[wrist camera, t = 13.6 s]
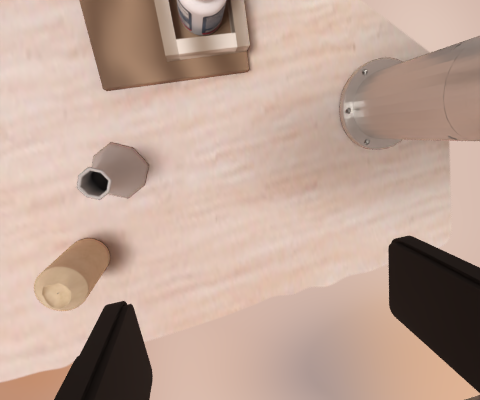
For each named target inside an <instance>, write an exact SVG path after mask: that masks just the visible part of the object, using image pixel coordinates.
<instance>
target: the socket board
mask: <svg viewBox="0 0 480 400" xmlns="http://www.w3.org/2000/svg"><path fill="white" fill-rule="evenodd" d="M80 4H81V8H82V11H83V15H84V19H85V23H86V27H87V30H88V34H89V38H90V42H91V45H92V49H93V53H94V57H95V60H96V64H97V68H98V72H99V75H100V79H101V83H102V87H103V89H104V90H106V91H111V90H118V89H126V88H133V87H140V86H148V85H155V84H163V83H170V82H177V81H185V80H192V79H200V78H207V77H215V76H222V75H229V74H237V73H244V72H247V71H248V70H249V65H248V58H247V49H248V48H249V46H250V42H249V35H248V27H247V19H246V12H245V4H244V0H227V1H226V5H225V9H224V14H223V18H222V21H221V24H220V26H219V27H218V29H217V30H216V31H215V32H213V33H212V34H209V35H205V36H201V35H196V34H194V33H192V32H190V31H189V30H188V29H187V28H186V27H185V26H184V25H183V23H182V22H181V20H180V17H179V13H178V7H177V0H80Z"/></svg>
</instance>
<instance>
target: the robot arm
mask: <svg viewBox="0 0 480 400" xmlns="http://www.w3.org/2000/svg"><path fill="white" fill-rule="evenodd" d="M345 110H346V112H345ZM340 118H341V123H342V126H343V128H344V130H345V132H346V134H347V135H348V137H349V138H350V139H351V140H352V141H353V142H354V143H356V144H357V145H359V146H361V147H364V148H367V149H385V148H389V147H392V146H394V145H396V144H397V143H399V142H401V141H402V140H403V139H404V140H450V141H480V36H478V37H475V38H472V39H469V40H467V41H463V42H460V43H458V44H455V45H452V46H449V47H446V48H443V49H440V50H437V51H434V52H431V53H429V54H426V55H423V56H420V57H417V58H414V59H411V60H408V61H405V62H402V61H400V60H398V59H394V58H380V59H376V60H373V61H370V62H368V63H366V64H364V65H363V66H361V67H360V68H359V69H358V70H356V71H355V72H354V73H353V74H352V76H351V77H350V78H349V80H348V81H347V83H346V85H345V87H344V89H343V92H342V96H341V100H340ZM364 141H365V142H364ZM389 306H390V310H391V312H392V314H393V315H394V316H395V317H396V318H397V319H398V320H399V321H400V322H401V323H403V324H404V325H405V326H406V327H407V328H408V329H409V330H410V331H412V332H413V333H414V334H415V335H416V336H417V337H418V338H419V339H420V340H421V341H423V342H424V343H425V344H426V345H427V346H428V347H429V348H430V349H431V350H433V351H434V352H435V353H436V354H437V355H438V356H439V357H440V358H442V359H443V360H444V361H445V362H446V363H447V364H448V365H449V366H450V367H451V368H453V369H454V370H455V371H456V372H457V373H458V374H459V375H460V376H461V377H463V378H464V379H465V380H466V381H467V382H468V383H469V384H470V385H471V386H473V387H474V388H475V389H476V390H477V391H478V392H479V393H480V268H479V267H477V266H475V265H472V264H471V263H468V262H466V261H464V260H462V259H460V258H458V257H455V256H453V255H451V254H449V253H447V252H445V251H443V250H440V249H438V248H436V247H434V246H432V245H430V244H427V243H425V242H423V241H421V240H419V239H417V238H414V237H412V236H405V237H401V238H396V239H394V240H393V241H392V243H391V244H390V245H389ZM151 386H152V369H151V365H150V361H149V358H148V355H147V351H146V348H145V344H144V341H143V338H142V334H141V331H140V328H139V324H138V321H137V318H136V314H135V311H134V308H133V305H132V304H128V305H127V303H126V302H125V301H122V302H117V303H113V304H108V305H106V306H105V307H104V309H103V311H102V313H101V315H100V317H99V319H98V321H97V322H96V324H95V326H94V328H93V330H92V332H91V334H90V336H89V338H88V340H87V342H86V344H85V346H84V348H83V350H82V352H81V354H80V356H78V357H77V358H76V359H75V361H74V363H73V364H72V366H71V368H70V370H69V372H68V374H67V376H66V378H65V380H64V382H63V384H62V386H61V387H60V389H59V391H58V393H57V395H56V397H55V399H54V400H149V398H150V392H151ZM466 400H480V395H478V396H475V397H472V398H469V399H466Z"/></svg>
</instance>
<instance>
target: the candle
mask: <svg viewBox="0 0 480 400" xmlns="http://www.w3.org/2000/svg"><path fill="white" fill-rule="evenodd" d="M109 260H110V253H109V250H108V248H107V247H106V246H105V245H104V244H103V243H102V242H100V241H98V240H95V239H82V240H79V241H77V242H75V243H74V244H73V245H71V246H70V247H69V248H68V249H67V250H66V251H65V252H64V253H63V254H61V255H60V256H59V257H58V258H57V259H56V260H55V261H54V262H53V263H52V264H51V265H49V266H48V267H47V268H46V269H45V270H44V271H43V272H42V273H41V274H40V275H39V276H38V277H37V279H36V281H35V284H34V292H35V295H36V297H37V299H38V300H39V301H40V302H41V303H42V304H43V305H44V306H46V307H48V308H50V309H53V310H57V311H68V310H72V309H75V308H77V307H78V306H80V305H81V304H82V303H83V302H84V301H85V300H86V298H87V297H88V295H89V294H90V292H91V291H92V289H93V287H94V286H95V284H96V283H97V281H98V280H99V278H100V277H101V275H102V274H103V272H104V271H105V269H106V267H107V266H108V264H109Z"/></svg>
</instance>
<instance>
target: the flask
mask: <svg viewBox="0 0 480 400" xmlns="http://www.w3.org/2000/svg"><path fill="white" fill-rule="evenodd" d="M147 170H148V164H147V163H146V162H145V160H144V159H143V158H142V157H141V156H140V155H139V154H138V153H137V152H136V150H135V149H134V148H131V147H127V146H123V145H119V144H115V143H111V142H110V143H109V144H108V145H107V146H105V147H104V148H103V149H102V150H100V151H99V152H98V153H97V154H96V155H94V156H93V162H92V167H88V168H87V169H85V170H84V171H83V172H82V173H81V174H79V175H78V181H77V189H78V190H79V191H81V192H82V193H83V194H84V195H85V196H86V197H88V198H93V199H98V200H101V199H102V198H103V197H104V196H106V195H107V194H109V195H114V196H119V197H124V198H130V197H131V196H132V195H133V194H134V193H136V192H137V191H138V190H139V189H141V188H142V187H143V186H144V185H145V180H146V175H147Z"/></svg>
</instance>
